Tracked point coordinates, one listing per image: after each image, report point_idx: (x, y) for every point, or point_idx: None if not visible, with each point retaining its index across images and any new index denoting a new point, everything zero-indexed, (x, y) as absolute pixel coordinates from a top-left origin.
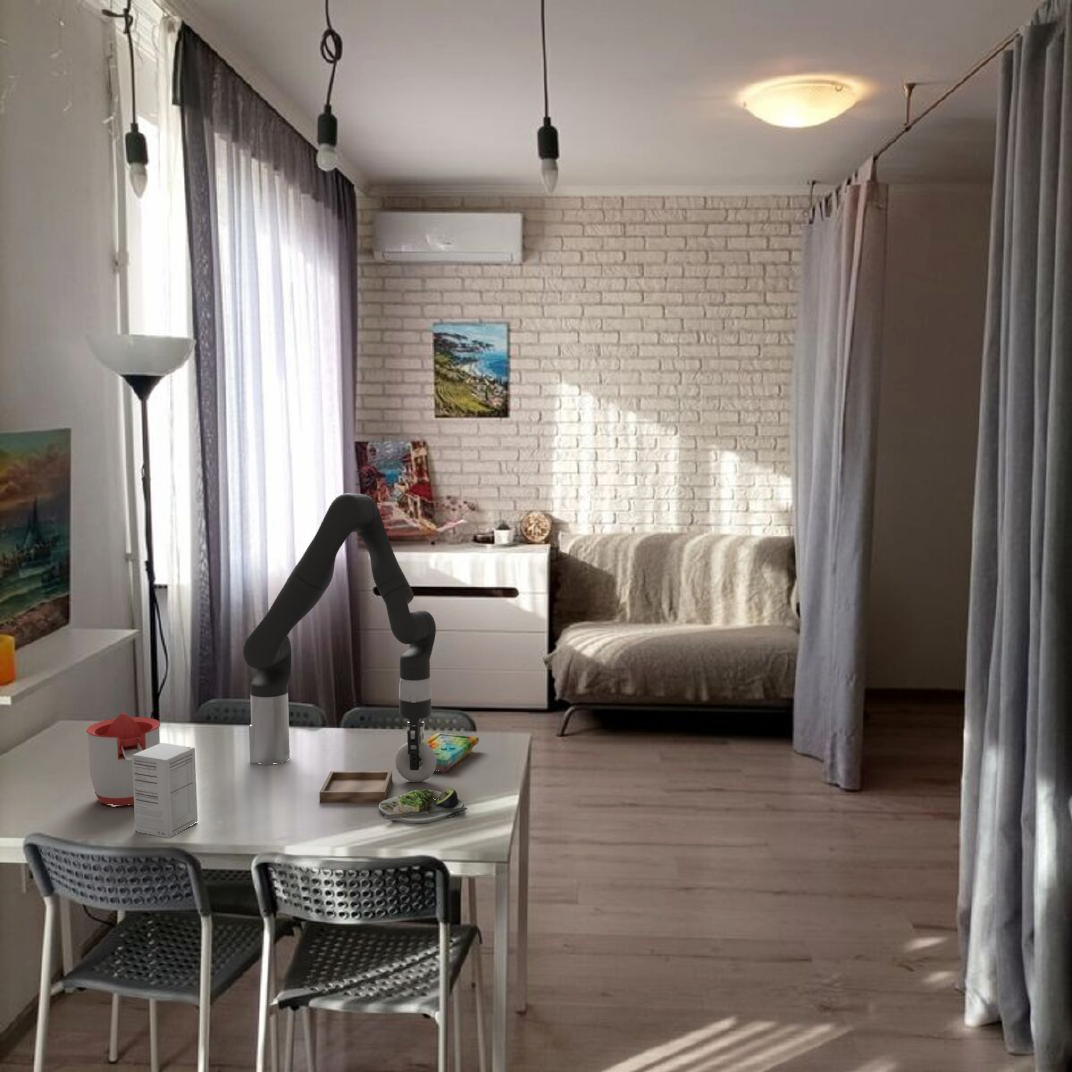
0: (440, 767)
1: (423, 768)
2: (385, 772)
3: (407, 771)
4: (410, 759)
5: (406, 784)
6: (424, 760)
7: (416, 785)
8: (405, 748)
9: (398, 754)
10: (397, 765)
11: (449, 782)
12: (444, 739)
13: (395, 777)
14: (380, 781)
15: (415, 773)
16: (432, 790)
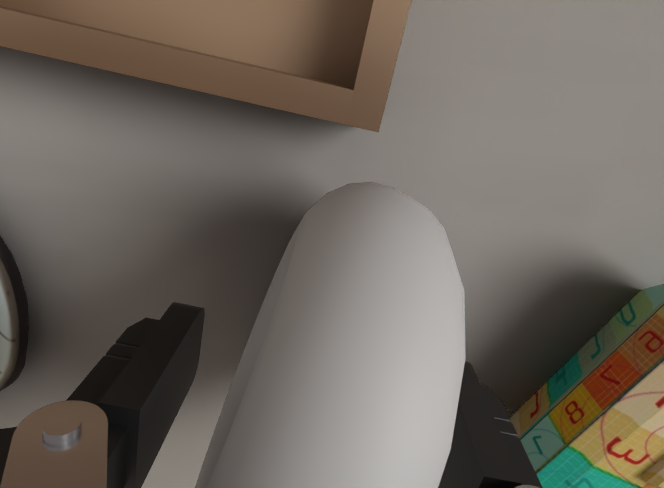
0: None
1: (234, 401)
2: (360, 60)
3: (286, 267)
4: (128, 369)
5: (281, 219)
6: (210, 469)
7: (248, 280)
8: (260, 407)
9: (315, 260)
10: (325, 199)
11: None
12: None
13: (465, 158)
14: (282, 1)
15: (267, 319)
16: (2, 366)
